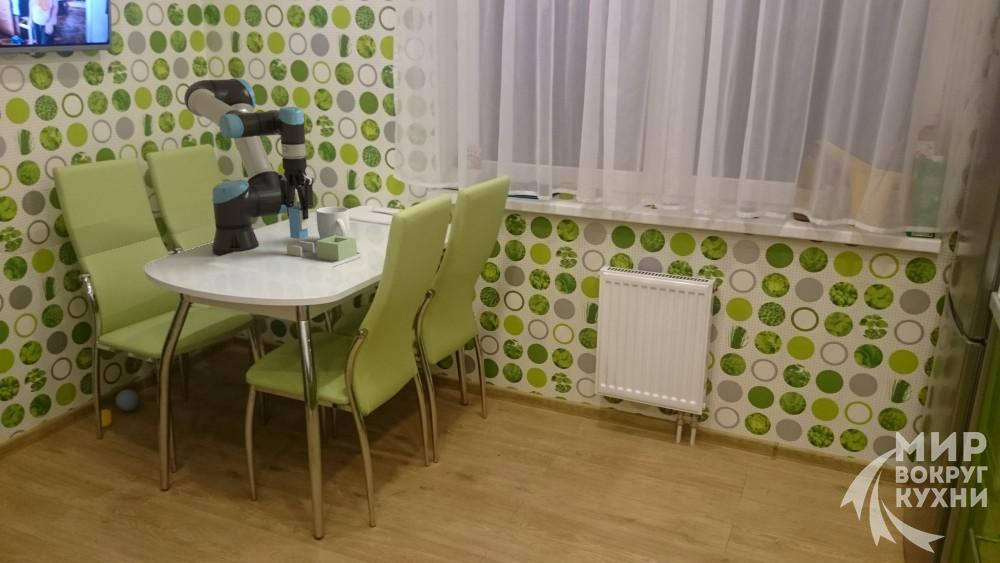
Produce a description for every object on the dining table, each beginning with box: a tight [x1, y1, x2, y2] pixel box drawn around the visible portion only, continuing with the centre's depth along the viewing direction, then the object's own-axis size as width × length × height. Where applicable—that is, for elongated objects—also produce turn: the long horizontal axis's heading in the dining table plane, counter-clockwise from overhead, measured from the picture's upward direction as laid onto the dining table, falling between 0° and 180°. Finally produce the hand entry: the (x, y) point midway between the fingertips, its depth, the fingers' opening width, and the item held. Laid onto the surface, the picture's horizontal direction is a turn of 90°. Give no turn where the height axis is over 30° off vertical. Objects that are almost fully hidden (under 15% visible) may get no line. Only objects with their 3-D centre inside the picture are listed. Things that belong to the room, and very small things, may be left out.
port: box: [316, 235, 358, 262], centre depth 263 cm, size 9×9×6 cm
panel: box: [285, 240, 361, 268], centre depth 266 cm, size 20×14×4 cm
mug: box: [315, 206, 350, 240], centre depth 278 cm, size 15×11×13 cm
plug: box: [288, 200, 309, 240], centre depth 264 cm, size 4×4×12 cm
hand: (298, 227), depth 265 cm, fingers closed on plug, 4 cm apart
